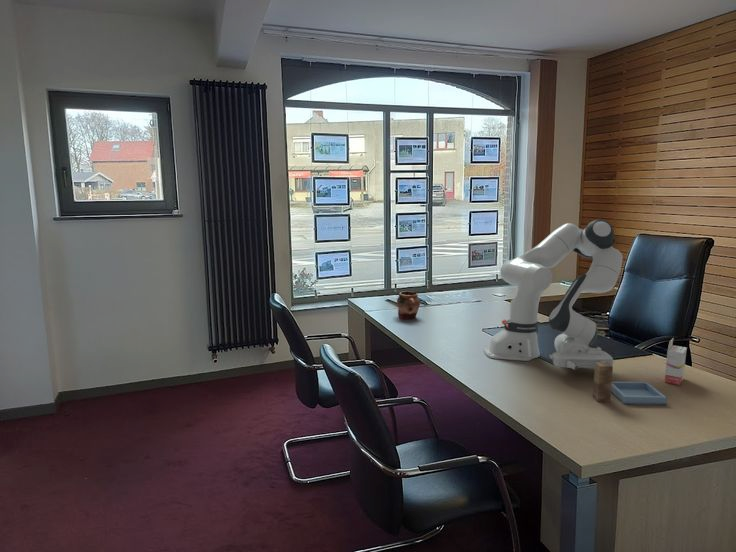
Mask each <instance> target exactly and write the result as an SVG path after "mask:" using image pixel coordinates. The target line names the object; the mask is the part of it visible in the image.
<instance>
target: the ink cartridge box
mask: <svg viewBox="0 0 736 552" xmlns="http://www.w3.org/2000/svg"><path fill="white" fill-rule="evenodd" d="M674 339H675V338H674V337H673V338H671V339H670V341H669V343H668V347H667V352H666V363H665V364H666V365H665V373H664V375H665V376H664V377H665V378H664V383H668V384H673V385H677V386H680V385H681V383H682V382H683V380H684V375H685V365H686V357H687V350H688V347H686V346H679V345H674V344H673V343H674Z"/></svg>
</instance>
